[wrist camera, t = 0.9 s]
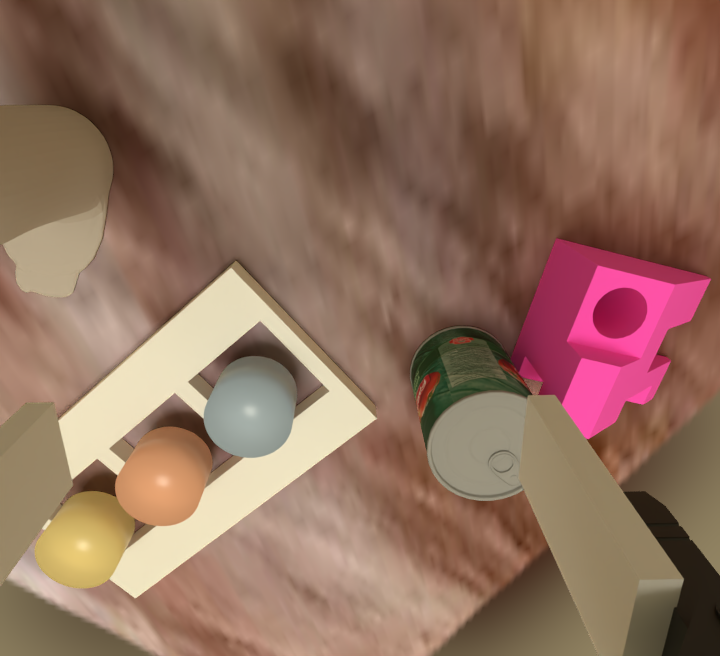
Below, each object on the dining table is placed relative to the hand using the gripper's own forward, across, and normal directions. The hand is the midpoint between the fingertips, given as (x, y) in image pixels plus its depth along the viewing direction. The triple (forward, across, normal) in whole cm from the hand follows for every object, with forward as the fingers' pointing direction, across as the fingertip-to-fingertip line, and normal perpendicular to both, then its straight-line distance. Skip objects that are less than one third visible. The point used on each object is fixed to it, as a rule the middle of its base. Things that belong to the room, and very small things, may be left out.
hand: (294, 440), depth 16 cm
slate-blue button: (+24, -6, -11) cm, 27 cm away
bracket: (+28, +21, -7) cm, 35 cm away
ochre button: (+24, -19, -23) cm, 38 cm away
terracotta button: (+24, -12, -17) cm, 32 cm away
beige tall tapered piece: (+28, -19, +2) cm, 34 cm away
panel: (+27, -12, -17) cm, 34 cm away
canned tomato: (+27, +10, -11) cm, 31 cm away
